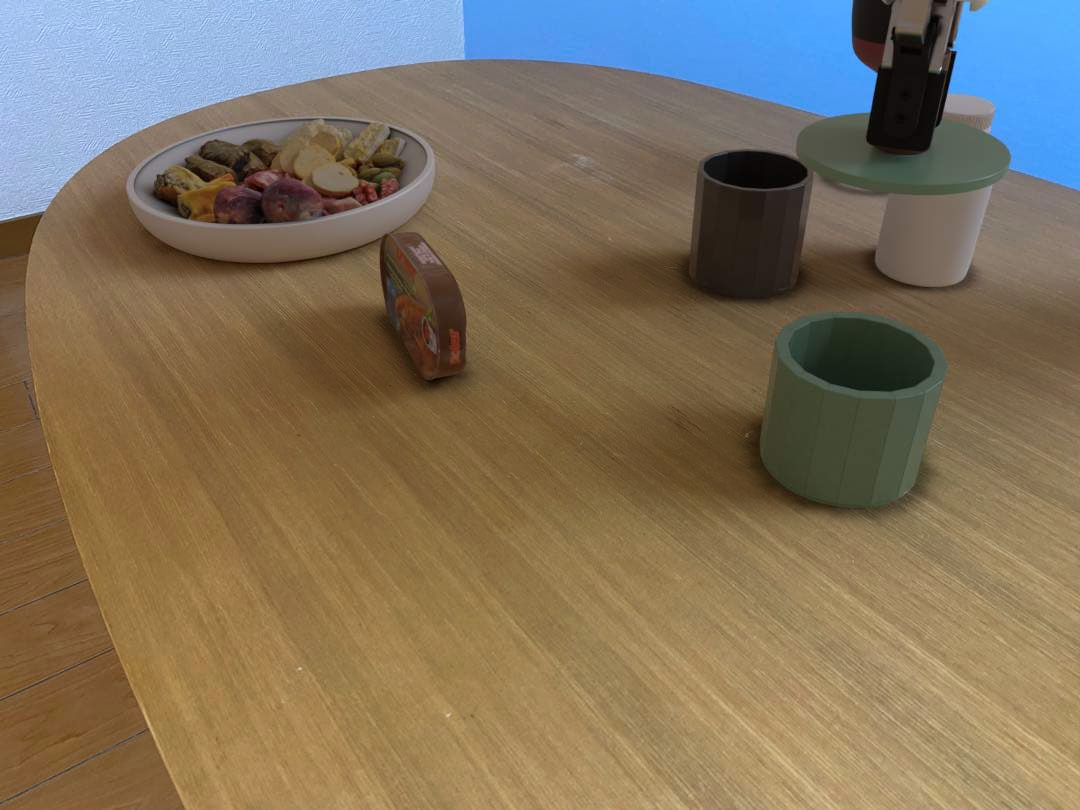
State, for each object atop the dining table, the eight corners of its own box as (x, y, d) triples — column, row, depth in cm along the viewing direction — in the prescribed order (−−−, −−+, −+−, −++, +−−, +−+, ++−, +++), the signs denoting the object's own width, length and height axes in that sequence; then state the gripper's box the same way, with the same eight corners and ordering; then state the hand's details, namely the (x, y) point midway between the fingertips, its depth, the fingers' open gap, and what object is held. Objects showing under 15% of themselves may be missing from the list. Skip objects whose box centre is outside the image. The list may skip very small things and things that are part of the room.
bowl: (142, 178, 105) (123, 107, 100) (406, 145, 112) (399, 78, 108) (135, 300, 81) (110, 216, 77) (469, 249, 89) (464, 169, 84)
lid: (819, 122, 58) (835, 16, 54) (1013, 147, 53) (1044, 33, 50) (770, 186, 50) (785, 66, 46) (994, 221, 45) (1030, 92, 42)
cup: (744, 244, 89) (757, 141, 83) (818, 283, 82) (838, 174, 77) (667, 270, 85) (675, 163, 79) (739, 313, 78) (753, 200, 73)
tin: (381, 310, 80) (369, 217, 75) (417, 302, 81) (408, 210, 76) (436, 402, 68) (427, 300, 63) (477, 392, 69) (471, 291, 64)
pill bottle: (902, 295, 80) (943, 122, 72) (857, 255, 87) (890, 91, 78) (985, 285, 82) (1036, 114, 73) (935, 246, 88) (976, 84, 79)
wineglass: (893, 202, 97) (938, -5, 85) (811, 185, 100) (843, -15, 89) (914, 177, 102) (959, -21, 90) (836, 162, 106) (869, -30, 94)
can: (781, 403, 68) (799, 299, 63) (927, 440, 64) (957, 332, 59) (740, 483, 60) (756, 372, 55) (901, 530, 56) (933, 416, 52)
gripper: (1081, -296, 32) (957, 202, 43) (1092, -292, 44) (993, 99, 55) (859, -288, 35) (795, 178, 46) (925, -286, 47) (862, 84, 58)
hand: (903, 131), depth 50 cm, fingers closed on lid, 3 cm apart
